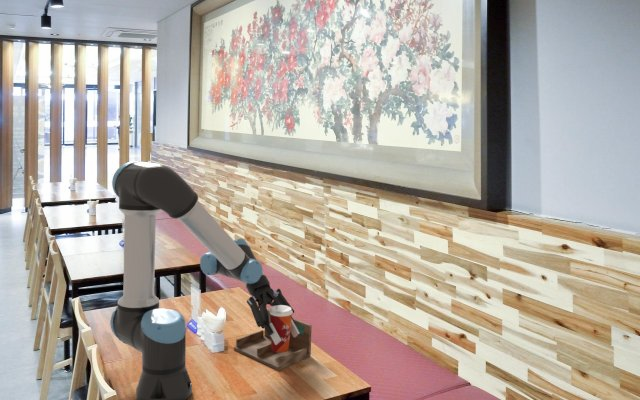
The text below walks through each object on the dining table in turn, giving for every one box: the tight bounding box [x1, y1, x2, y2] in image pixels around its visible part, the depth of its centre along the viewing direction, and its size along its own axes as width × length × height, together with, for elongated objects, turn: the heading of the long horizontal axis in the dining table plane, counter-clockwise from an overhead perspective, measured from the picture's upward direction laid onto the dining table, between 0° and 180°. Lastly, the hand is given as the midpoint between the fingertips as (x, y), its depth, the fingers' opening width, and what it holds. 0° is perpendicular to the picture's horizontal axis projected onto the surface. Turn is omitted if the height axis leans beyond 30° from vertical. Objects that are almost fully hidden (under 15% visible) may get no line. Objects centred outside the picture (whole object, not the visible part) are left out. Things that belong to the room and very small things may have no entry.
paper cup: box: [269, 305, 294, 353], centre depth 173 cm, size 8×8×14 cm
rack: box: [233, 308, 313, 371], centre depth 178 cm, size 15×22×11 cm
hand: (287, 338), depth 171 cm, fingers closed on paper cup, 8 cm apart
